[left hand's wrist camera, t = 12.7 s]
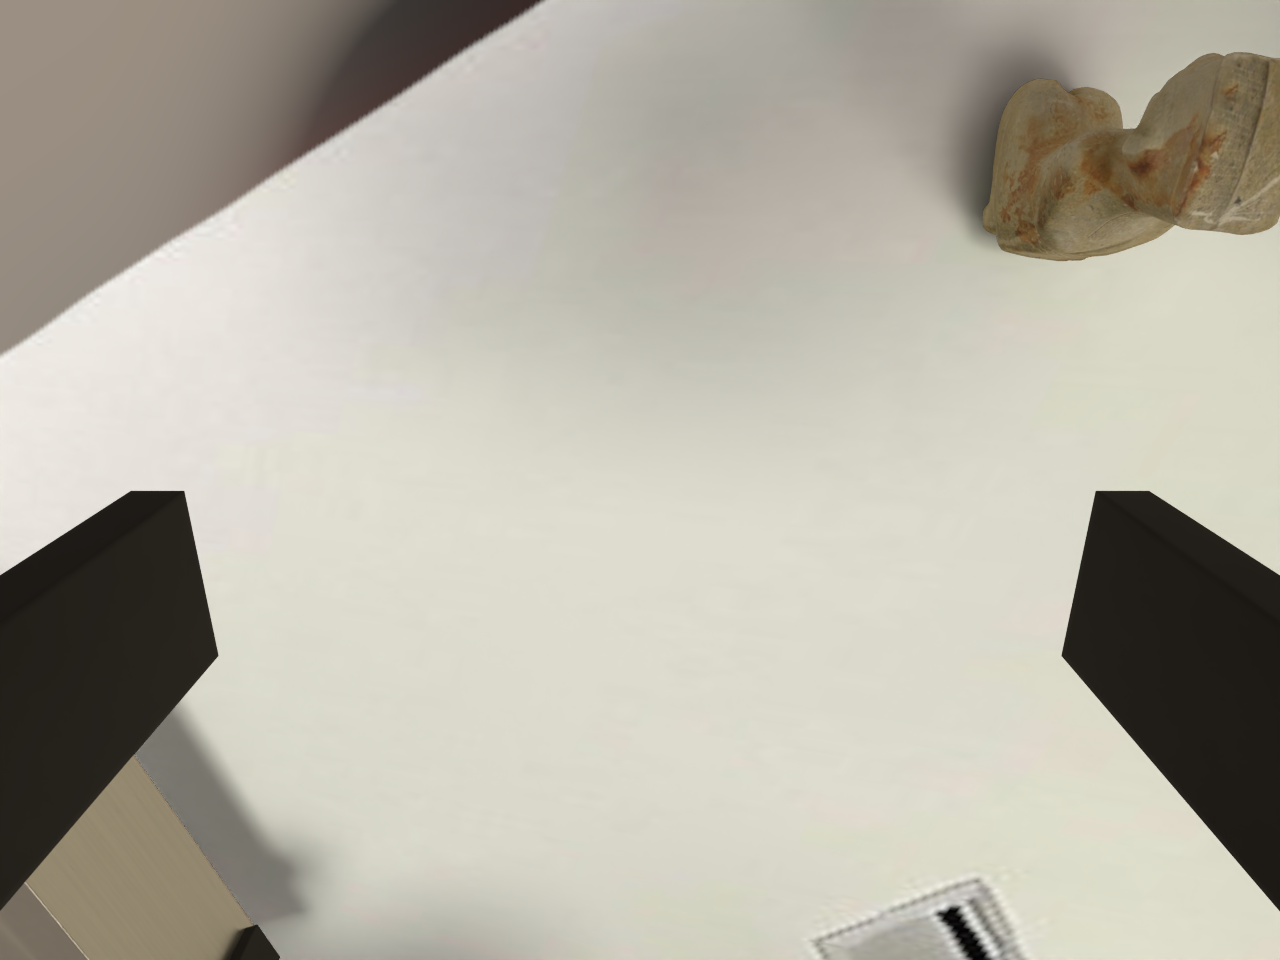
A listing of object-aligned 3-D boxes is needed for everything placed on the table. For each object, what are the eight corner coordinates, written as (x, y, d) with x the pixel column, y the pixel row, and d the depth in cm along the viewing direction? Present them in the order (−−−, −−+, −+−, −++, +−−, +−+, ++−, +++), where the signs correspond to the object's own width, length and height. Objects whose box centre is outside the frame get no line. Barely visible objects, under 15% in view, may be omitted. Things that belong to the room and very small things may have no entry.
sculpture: (1118, 99, 37) (1405, 61, 23) (1061, 261, 40) (1289, 315, 26) (993, 73, 37) (1209, 18, 23) (944, 239, 40) (1110, 281, 26)
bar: (-22, 666, 42) (-172, 783, 34) (54, 641, 41) (-80, 753, 34) (228, 999, 50) (153, 1152, 43) (294, 981, 50) (231, 1133, 42)
